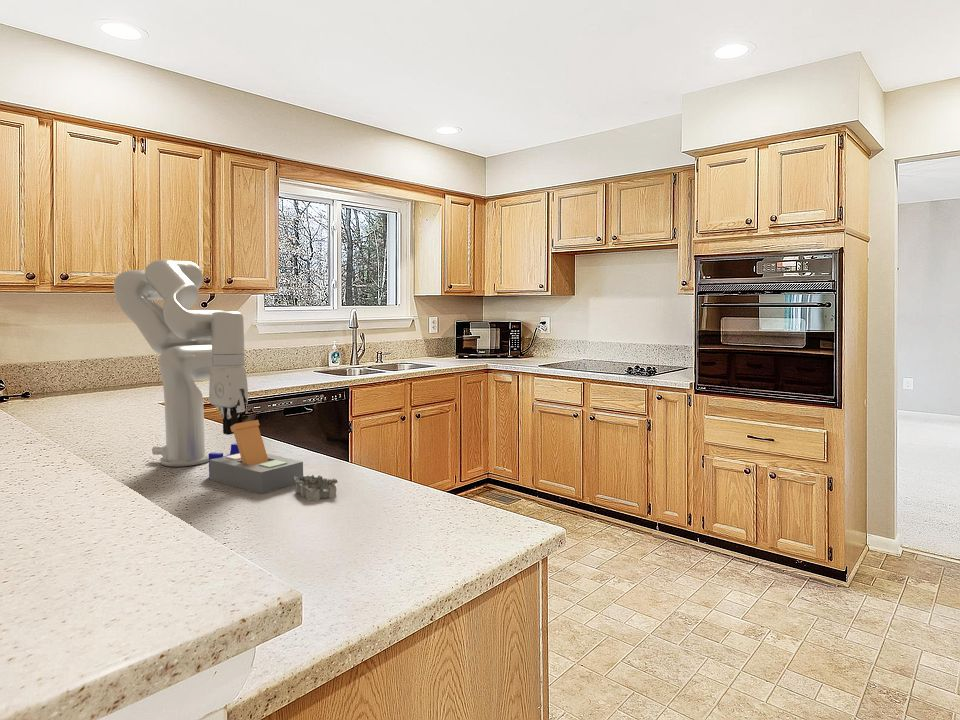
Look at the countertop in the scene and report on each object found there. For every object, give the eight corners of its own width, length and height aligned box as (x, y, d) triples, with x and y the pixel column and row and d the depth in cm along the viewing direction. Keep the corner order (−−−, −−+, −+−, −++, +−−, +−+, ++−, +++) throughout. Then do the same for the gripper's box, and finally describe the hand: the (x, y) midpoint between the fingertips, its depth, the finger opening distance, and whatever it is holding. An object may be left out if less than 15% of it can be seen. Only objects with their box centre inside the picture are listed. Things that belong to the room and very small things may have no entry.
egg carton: (339, 498, 142) (339, 480, 142) (306, 503, 138) (306, 485, 138) (323, 486, 151) (323, 469, 151) (292, 490, 147) (292, 473, 146)
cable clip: (229, 465, 170) (228, 443, 169) (245, 465, 169) (244, 443, 168) (203, 477, 158) (202, 453, 157) (220, 477, 157) (219, 454, 157)
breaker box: (209, 479, 155) (209, 458, 154) (251, 469, 165) (251, 449, 164) (261, 493, 144) (261, 471, 143) (303, 481, 153) (302, 460, 153)
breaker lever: (244, 474, 151) (230, 426, 153) (266, 469, 157) (252, 422, 158) (249, 472, 150) (235, 423, 152) (272, 466, 155) (258, 419, 157)
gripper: (197, 360, 158) (199, 432, 160) (233, 363, 150) (235, 439, 151) (224, 358, 164) (226, 427, 166) (260, 361, 156) (262, 434, 158)
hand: (230, 433), depth 159 cm, fingers closed
